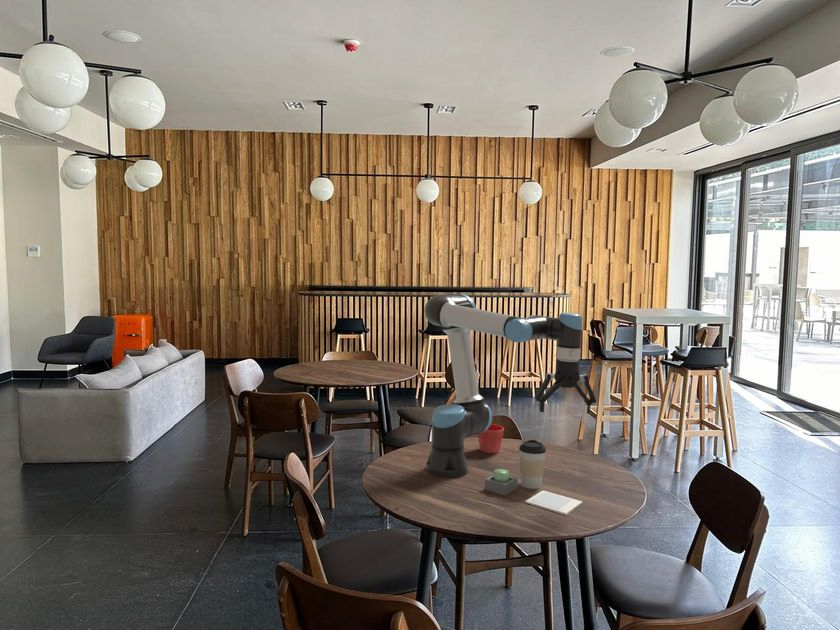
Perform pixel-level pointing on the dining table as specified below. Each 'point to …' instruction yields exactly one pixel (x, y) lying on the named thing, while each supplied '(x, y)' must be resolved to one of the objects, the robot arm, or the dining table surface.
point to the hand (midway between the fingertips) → (563, 422)
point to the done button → (501, 475)
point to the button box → (501, 485)
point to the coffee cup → (532, 463)
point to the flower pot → (491, 439)
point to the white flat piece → (554, 502)
